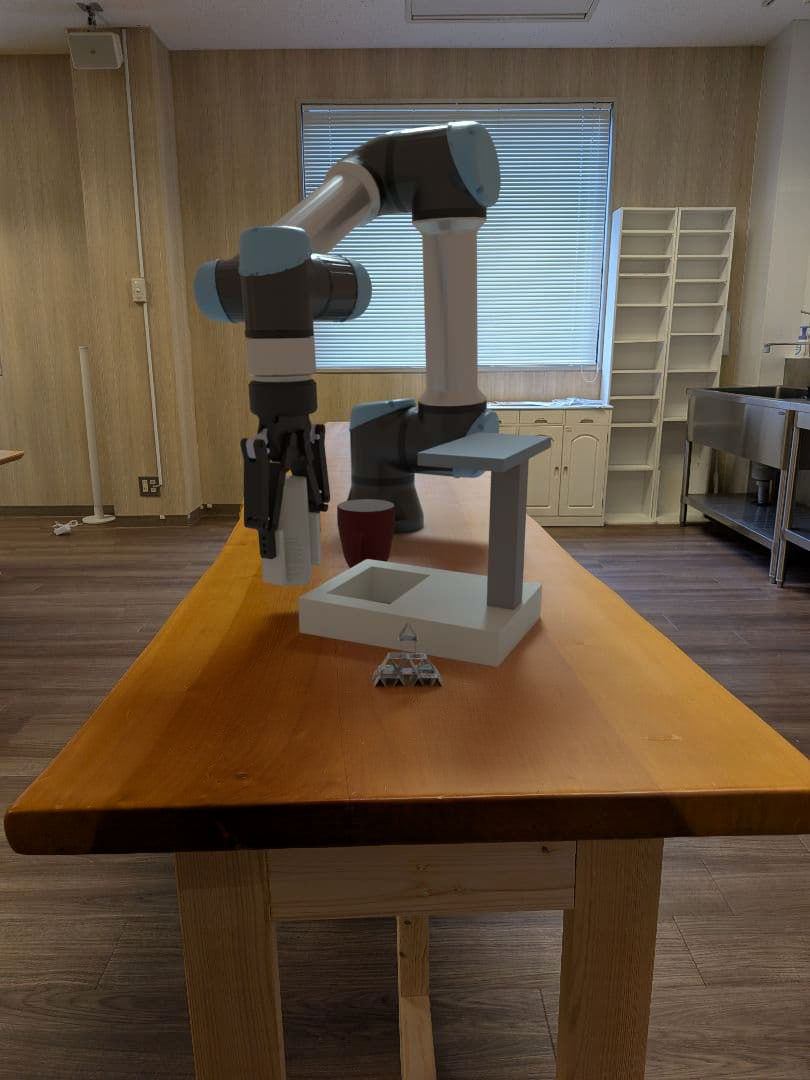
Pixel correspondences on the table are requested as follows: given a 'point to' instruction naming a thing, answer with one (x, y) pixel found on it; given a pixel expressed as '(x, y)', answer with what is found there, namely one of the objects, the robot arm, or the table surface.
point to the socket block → (418, 611)
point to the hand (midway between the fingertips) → (293, 572)
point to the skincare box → (296, 531)
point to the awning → (498, 501)
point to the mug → (365, 529)
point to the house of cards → (398, 671)
